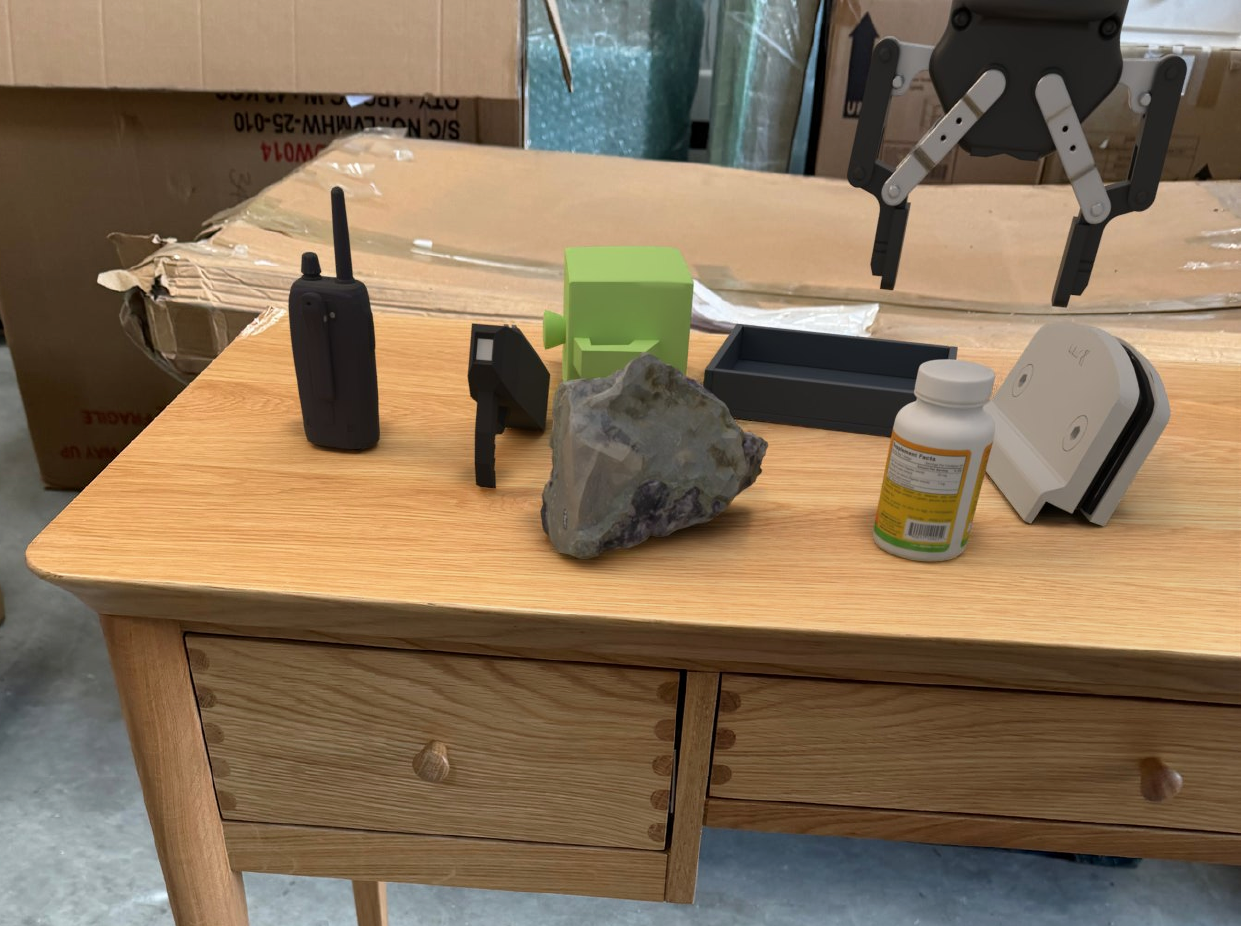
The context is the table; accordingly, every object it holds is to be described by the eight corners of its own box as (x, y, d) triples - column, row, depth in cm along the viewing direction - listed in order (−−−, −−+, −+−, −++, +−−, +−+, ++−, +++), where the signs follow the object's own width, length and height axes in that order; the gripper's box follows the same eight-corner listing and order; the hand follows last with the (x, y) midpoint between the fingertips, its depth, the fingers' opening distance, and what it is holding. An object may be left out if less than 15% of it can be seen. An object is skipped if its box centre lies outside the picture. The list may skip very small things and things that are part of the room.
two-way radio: (391, 440, 79) (372, 184, 69) (365, 463, 76) (342, 197, 66) (315, 431, 80) (286, 177, 70) (286, 452, 77) (252, 189, 67)
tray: (948, 388, 92) (958, 346, 90) (941, 443, 82) (951, 397, 80) (732, 364, 95) (736, 323, 93) (700, 414, 85) (704, 369, 83)
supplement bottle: (920, 519, 71) (958, 349, 65) (985, 553, 68) (1031, 376, 61) (852, 535, 69) (884, 361, 63) (915, 571, 65) (956, 390, 59)
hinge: (954, 430, 84) (1038, 286, 78) (1010, 454, 85) (1097, 315, 79) (1025, 523, 71) (1133, 360, 65) (1090, 550, 72) (1201, 392, 66)
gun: (543, 511, 84) (557, 363, 82) (496, 480, 69) (512, 296, 67) (504, 507, 85) (517, 360, 83) (449, 476, 69) (463, 293, 67)
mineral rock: (756, 504, 72) (779, 329, 66) (771, 580, 64) (799, 389, 58) (547, 495, 72) (550, 319, 66) (535, 569, 64) (537, 377, 58)
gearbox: (540, 359, 94) (541, 227, 88) (661, 361, 95) (671, 230, 89) (544, 435, 81) (545, 284, 75) (686, 437, 81) (699, 288, 75)
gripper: (1234, -114, 51) (1112, 293, 61) (902, -126, 54) (839, 266, 64) (1262, -121, 45) (1122, 329, 56) (890, -134, 48) (823, 297, 58)
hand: (971, 295), depth 60 cm, fingers open, 8 cm apart
